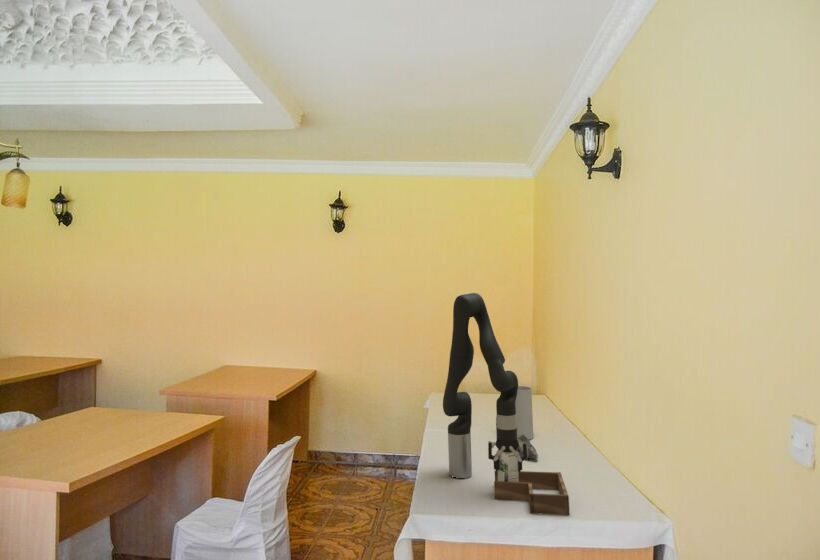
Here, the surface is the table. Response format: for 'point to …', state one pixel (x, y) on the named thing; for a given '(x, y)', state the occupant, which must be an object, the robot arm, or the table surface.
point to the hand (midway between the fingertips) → (508, 470)
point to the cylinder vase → (524, 411)
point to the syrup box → (508, 467)
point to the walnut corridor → (536, 501)
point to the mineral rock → (530, 449)
